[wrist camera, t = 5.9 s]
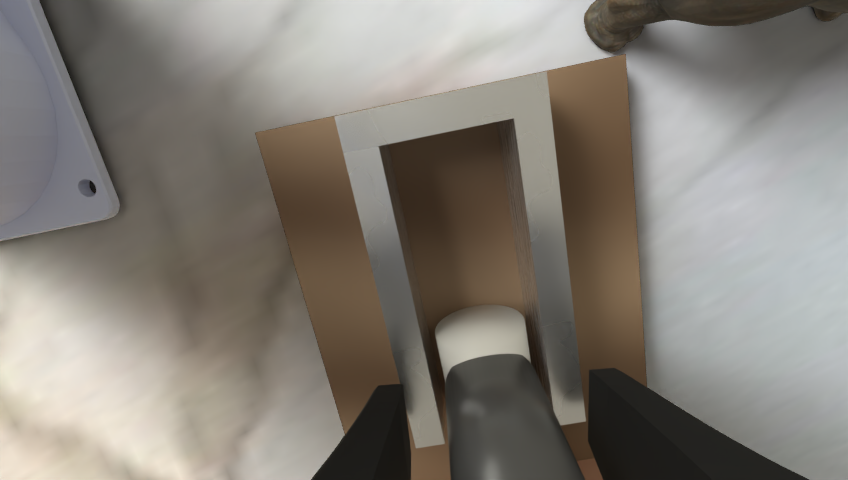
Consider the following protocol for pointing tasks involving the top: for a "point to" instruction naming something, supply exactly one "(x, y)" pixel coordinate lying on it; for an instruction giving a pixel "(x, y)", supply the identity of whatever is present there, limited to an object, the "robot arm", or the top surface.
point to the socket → (590, 469)
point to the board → (467, 239)
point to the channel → (531, 222)
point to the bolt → (498, 401)
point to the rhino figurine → (689, 15)
